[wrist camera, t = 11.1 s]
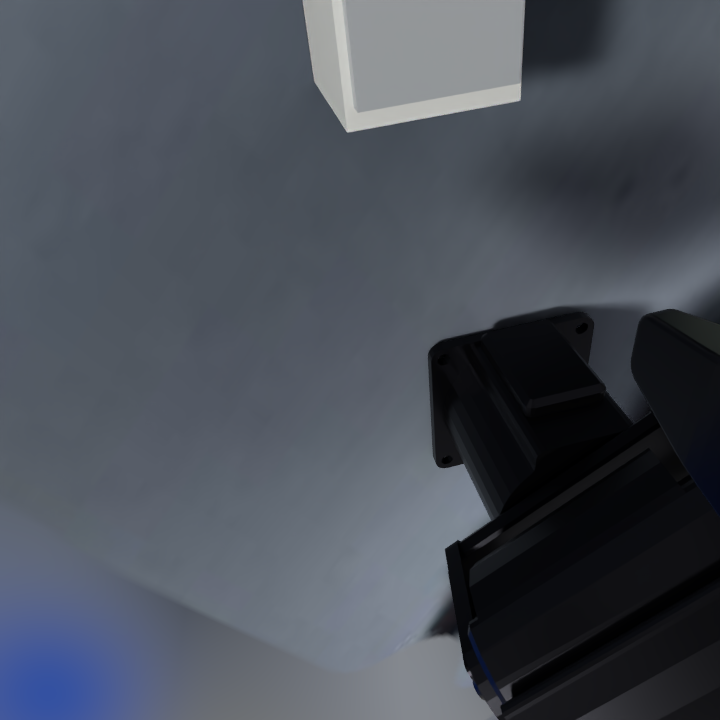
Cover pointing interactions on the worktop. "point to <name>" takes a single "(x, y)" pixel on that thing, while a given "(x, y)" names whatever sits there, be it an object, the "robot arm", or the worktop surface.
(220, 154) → the worktop surface
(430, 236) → the worktop surface
